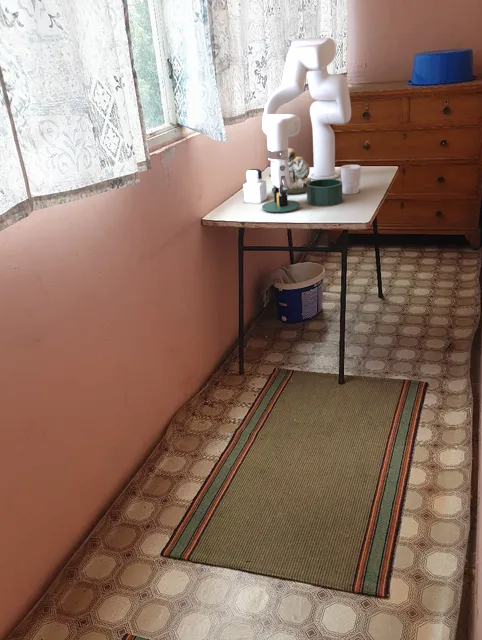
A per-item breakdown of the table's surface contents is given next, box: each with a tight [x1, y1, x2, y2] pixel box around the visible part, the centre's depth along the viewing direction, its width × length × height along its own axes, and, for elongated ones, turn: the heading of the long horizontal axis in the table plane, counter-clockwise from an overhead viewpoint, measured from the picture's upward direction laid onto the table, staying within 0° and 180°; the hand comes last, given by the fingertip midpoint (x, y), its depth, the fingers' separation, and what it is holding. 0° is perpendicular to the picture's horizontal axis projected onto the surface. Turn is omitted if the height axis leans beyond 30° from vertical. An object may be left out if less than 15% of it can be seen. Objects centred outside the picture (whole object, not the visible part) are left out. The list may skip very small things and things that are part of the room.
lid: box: [261, 192, 301, 213], centre depth 230 cm, size 15×15×6 cm
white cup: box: [340, 164, 362, 195], centre depth 243 cm, size 8×8×10 cm
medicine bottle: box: [242, 168, 268, 204], centre depth 241 cm, size 7×7×12 cm
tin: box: [306, 178, 344, 207], centre depth 234 cm, size 14×14×7 cm
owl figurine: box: [268, 147, 312, 196], centre depth 249 cm, size 18×12×17 cm, turn 77°
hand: (281, 203), depth 231 cm, fingers open, 5 cm apart
